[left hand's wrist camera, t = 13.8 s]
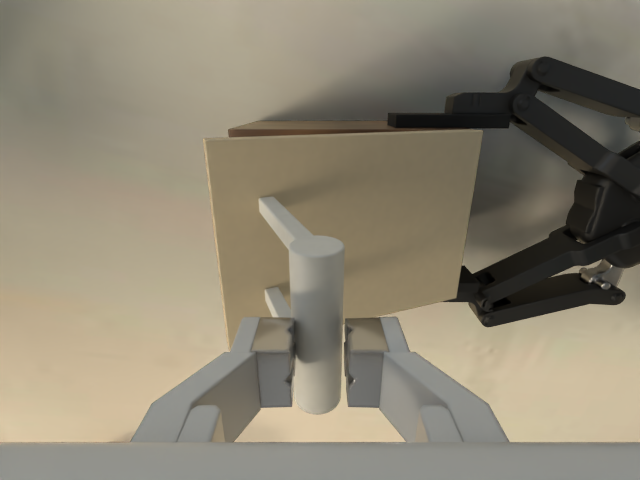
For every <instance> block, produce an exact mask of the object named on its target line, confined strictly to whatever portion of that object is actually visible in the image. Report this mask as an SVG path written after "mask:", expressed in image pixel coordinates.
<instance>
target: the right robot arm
mask: <svg viewBox="0 0 640 480" xmlns="http://www.w3.org/2000/svg"><path fill="white" fill-rule="evenodd" d="M537 91H541V92H544V93H547V94H550V95H552V96H555V97H558V98H561V99H564V100H567V101H570V102H573V103H576V104H578V105H581V106H584V107H587V108H590V109H593V110H596V111H599V112H602V113H604V114H608V115H612V116H618V117H626V119H625V124H627V125H629V127H630V129H632V130H635V131H638V132H640V89H637V88H634V87H631V86H628V85H626V84H623V83H620V82H617V81H614V80H612V79H609V78H606V77H603V76H600V75H598V74H595V73H592V72H589V71H586V70H584V69H581V68H578V67H575V66H572V65H570V64H567V63H564V62H561V61H558V60H556V59H553V58H550V57H540V58H535V59H530V60H525V61H521V62H517V63H516V64H515V65H513V67H512V68H511V71H510V80H509V82H508V83H507V85H506V87H505V88H504V89H503V90H501V91H500V92H497V93H454V94H452V95H450V96H447V97H446V104H445V112H444V113H388V123H387V125H389V126H392V127H394V128H509V123H510V122H511V123H513V124H514V125H515V126H517V127H518V128H520V129H521V130H523V131H524V132H526V133H527V134H528V135H530V136H531V137H533V138H534V139H536V140H537V141H539V142H540V143H541V144H543V145H544V146H546V147H547V148H549V149H550V150H551V151H553V152H554V153H556V154H557V155H559V156H560V157H562V158H563V159H564V160H566V161H567V162H568V164H569V165H570V166H571V167H573V168H574V169H576V170H577V171H579V172H580V173H582V174H583V175H584V177H583V179H582V180H577V183H576V187H575V191H574V204H573V206H572V208H571V209H570V211H569V213H568V216H567V220H566V224H567V225H566V226H563V227H561V228H559V229H557V230H555V231H553V232H551V233H550V234H549V238H547V239H545V240H543V241H541V242H539V243H537V244H535V245H533V246H531V247H529V248H526V249H524V250H522V251H520V252H518V253H516V254H514V255H512V256H510V257H508V258H505V259H503V260H501V261H499V262H497V263H495V264H493V265H491V266H489V267H487V268H484V269H482V270H480V271H478V272H476V273H474V274H471V273H470V271H469V270H468V269H467V268H466V267H465V266H461V272H460V278H459V284H458V290H457V296H456V298H455V299H450V300H446V301H442V302H469V306H470V308H471V309H472V311H473V312H474V313H475V315H476V316H477V318H478V319H479V320H480V322H481V323H482V325H484V326H485V327H492V326H497V325H501V324H505V323H510V322H514V321H518V320H522V319H527V318H531V317H535V316H540V315H544V314H548V313H552V312H557V311H561V310H565V309H570V308H574V307H578V306H583V305H587V304H603V305H617V304H620V303H621V302H622V301H623V300H624V299H625V296H626V295H625V292H624V291H622V290H621V289H619V288H617V286H618V283H619V281H620V278H621V276H622V274H623V271H624V269H625V268H630V267H633V266H635V265H637V264H640V141H638V142H636V143H634V144H633V145H631V146H629V147H628V148H626V149H624V150H623V151H621V152H619V153H618V154H616V153H614V152H611V151H609V150H608V149H606V148H605V147H603V146H602V145H601V144H599V143H598V142H597V141H595V140H594V139H592V138H591V137H590V136H588V135H587V134H585V133H584V132H583V131H581V130H580V129H579V128H577V127H576V126H574V125H573V124H572V123H570V122H569V121H568V120H566V119H565V118H563V117H562V116H561V115H559V114H558V113H556V112H555V111H554V110H552V109H551V108H550V107H548V106H547V105H545V104H544V103H543V102H541V101H540V100H538V99H537V98H536V97H534V96H535V95H536V93H537ZM576 240H579V241H580V242H581V243H579V242H578V241H576ZM601 259H602V261H601V263H600V264H599V265H598V266H597V267H594V268H590V269H586V268H581V269H580V270H579V273H571V274H563V275H559V276H555V277H551V276H553V275H555V274H558V273H560V272H562V271H564V270H566V269H569V268H571V267H573V266H577V265H579V266H587V265H590V264H592V263H594V262H596V261H599V260H601ZM549 277H551V278H549Z"/></svg>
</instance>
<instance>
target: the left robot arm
mask: <svg viewBox="0 0 640 480" xmlns="http://www.w3.org/2000/svg"><path fill="white" fill-rule="evenodd" d="M294 340H295V318H286V317H244V318H243V319H242V320H241V323H240V325H239V328H238V331H237V334H236V336H235V339H234V342H233V345H232V347H231V350H230V352H224V353H223V354H221V355H220V356H219V357H217V358H216V359H214V360H213V361H212V362H210V363H209V364H207V365H206V366H204V367H203V368H202V369H200V370H199V371H197V372H196V373H195V374H193V375H192V376H190V377H189V378H187V379H186V380H185V381H183V382H182V383H180V384H179V385H178V386H176V387H175V388H173V389H172V390H170V391H169V392H168V393H166V394H165V395H163V396H162V397H161V398H159V399H158V400H156V401H155V402H153V403H152V404H151V406H150V408H149V410H148V411H147V413H146V415H145V417H144V419H143V420H142V422H141V424H140V426H139V427H138V429H137V431H136V433H135V434H134V436H133V438H132V440H131V442H0V480H640V442H509V440H508V438H507V436H506V435H505V433H504V431H503V429H502V427H501V426H500V424H499V422H498V420H497V418H496V417H495V415H494V413H493V411H492V410H491V408H490V406H489V404H488V403H486V402H485V401H483V400H482V399H481V398H479V397H478V396H476V395H475V394H474V393H472V392H471V391H469V390H468V389H466V388H465V387H464V386H462V385H461V384H459V383H458V382H457V381H455V380H454V379H452V378H451V377H450V376H448V375H447V374H445V373H444V372H442V371H441V370H440V369H438V368H437V367H435V366H434V365H433V364H431V363H430V362H428V361H427V360H426V359H424V358H423V357H421V356H420V355H418V354H417V353H416V352H410V350H409V348H408V345H407V342H406V339H405V337H404V334H403V331H402V329H401V326H400V323H399V320H398V318H397V317H379V318H345V340H346V341H345V342H344V369H345V376H346V392H347V401H348V407H373V408H379V409H380V411H381V412H382V413H383V414H384V415H385V417H386V418H387V419H388V420H389V421H390V423H391V424H392V425H393V426H394V428H395V429H396V430H397V431H398V432H399V434H400V435H401V436H402V437H403V438H404V440H405V441H406V442H234V441H235V440H236V438H237V437H238V436H239V435H240V434H241V432H242V431H243V430H244V429H245V428H246V426H247V425H248V424H249V423H250V422H251V420H252V419H253V418H254V417H255V416H256V414H257V413H258V412H259V411H260V410H261V408H267V407H292V401H293V391H294V376H295V368H296V343H295V341H294Z"/></svg>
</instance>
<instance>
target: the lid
mask: <svg viewBox="0 0 640 480" xmlns="http://www.w3.org/2000/svg"><path fill="white" fill-rule="evenodd" d="M482 137H483V131H482V130H473V129H463V130H434V131H404V132H375V133H346V134H316V135H287V136H258V137H228V138H204V139H203V144H204V153H205V161H206V169H207V178H208V186H209V195H210V203H211V211H212V220H213V228H214V236H215V245H216V253H217V261H218V270H219V278H220V287H221V295H222V303H223V312H224V320H225V328H226V337H227V343H228V347H229V350H231V347H232V345H233V342H234V339H235V336H236V334H237V331H238V328H239V325H240V323H241V320H242V319H243V318H244V317H286V318H295V340H294V341H295V343H296V368H295V376H294V399H295V402H296V404H297V405H298V407H299V408H300V409H302V410H303V411H305V412H307V413H310V414H325V413H328V412H330V411H332V410H333V409H334V408H335V407H336V406H337V405H338V403H339V401H340V398H341V367H342V330H343V324H345V318H373V317H377V316H382V315H386V314H390V313H395V312H399V311H403V310H407V309H412V308H416V307H420V306H425V305H429V304H433V303H437V302H442V301H446V300H450V299H455V298H456V296H457V290H458V284H459V278H460V272H461V266H462V260H463V253H464V247H465V241H466V235H467V229H468V223H469V217H470V210H471V204H472V198H473V192H474V186H475V180H476V173H477V167H478V161H479V155H480V149H481V143H482Z"/></svg>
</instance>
